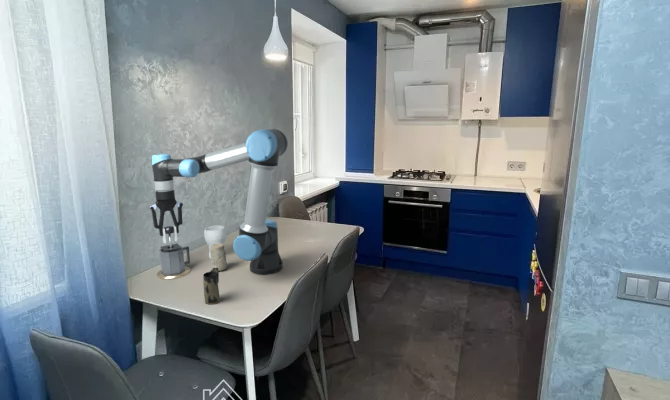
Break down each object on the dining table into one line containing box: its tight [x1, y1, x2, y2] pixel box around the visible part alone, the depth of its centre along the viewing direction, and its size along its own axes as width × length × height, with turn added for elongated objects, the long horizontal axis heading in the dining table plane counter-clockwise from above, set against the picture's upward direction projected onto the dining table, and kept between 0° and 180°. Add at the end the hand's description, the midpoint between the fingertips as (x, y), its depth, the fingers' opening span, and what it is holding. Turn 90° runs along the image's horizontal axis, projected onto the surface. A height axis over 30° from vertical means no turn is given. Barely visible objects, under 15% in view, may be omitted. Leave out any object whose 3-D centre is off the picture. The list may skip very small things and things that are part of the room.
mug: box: [202, 267, 221, 305], centre depth 139 cm, size 8×6×12 cm
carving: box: [210, 243, 228, 271], centre depth 168 cm, size 6×8×12 cm
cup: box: [203, 225, 227, 259], centre depth 185 cm, size 11×11×15 cm
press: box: [156, 243, 191, 280], centre depth 165 cm, size 14×14×12 cm
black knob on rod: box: [163, 225, 175, 252], centre depth 164 cm, size 6×6×19 cm
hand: (170, 241), depth 163 cm, fingers closed on black knob on rod, 4 cm apart
